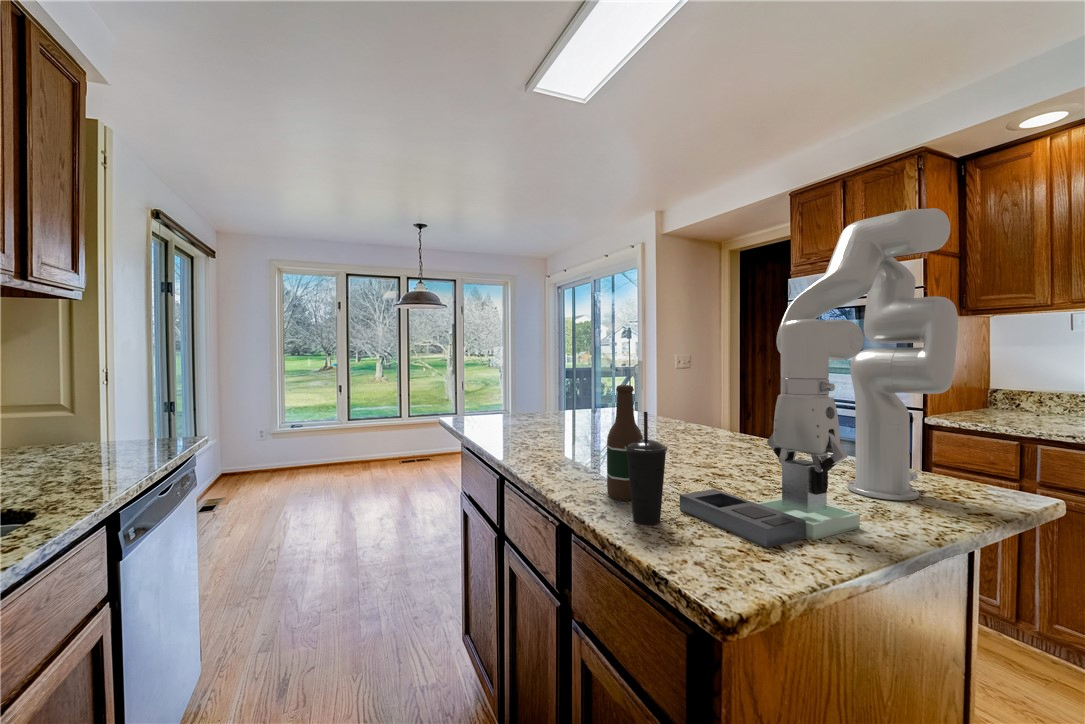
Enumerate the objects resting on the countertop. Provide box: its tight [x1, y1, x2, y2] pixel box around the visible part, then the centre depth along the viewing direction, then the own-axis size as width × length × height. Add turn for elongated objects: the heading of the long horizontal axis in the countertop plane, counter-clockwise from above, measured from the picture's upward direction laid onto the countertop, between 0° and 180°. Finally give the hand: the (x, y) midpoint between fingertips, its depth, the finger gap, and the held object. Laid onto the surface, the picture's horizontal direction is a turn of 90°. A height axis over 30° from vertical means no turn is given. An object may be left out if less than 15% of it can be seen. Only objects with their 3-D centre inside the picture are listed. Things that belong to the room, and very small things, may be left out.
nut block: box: [781, 458, 828, 513], centre depth 83 cm, size 5×5×8 cm
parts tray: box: [756, 497, 861, 541], centre depth 83 cm, size 12×12×2 cm
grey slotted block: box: [679, 488, 807, 549], centre depth 83 cm, size 9×20×3 cm, turn 24°
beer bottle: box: [606, 384, 644, 502], centre depth 99 cm, size 8×8×24 cm
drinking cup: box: [625, 411, 668, 526], centre depth 84 cm, size 8×8×20 cm
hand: (804, 488), depth 83 cm, fingers closed on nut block, 5 cm apart
